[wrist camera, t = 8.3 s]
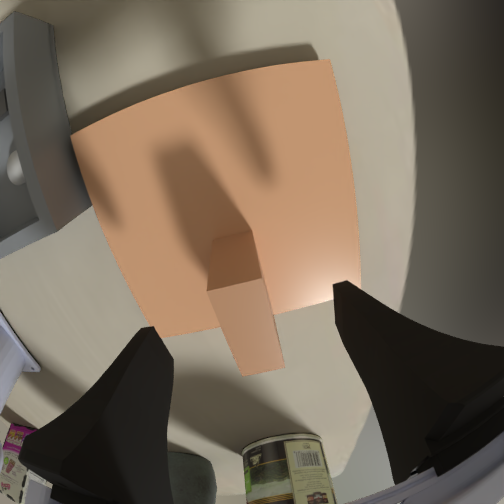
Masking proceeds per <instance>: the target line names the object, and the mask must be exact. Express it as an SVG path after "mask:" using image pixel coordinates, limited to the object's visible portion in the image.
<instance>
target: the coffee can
mask: <svg viewBox="0 0 504 504" xmlns="http://www.w3.org/2000/svg"><path fill="white" fill-rule="evenodd" d="M242 456H243V466H244V477H245V489H246V500H247V504H338V503H337V499H336V495H335V491H334V487H333V483H332V479H331V475H330V471H329V468H328V464H327V460H326V456H325V452H324V448H323V444H322V439H321V438H320V437H319V436H317V435H314V434H303V433H301V434H287V435H280V436H274V437H270V438H266V439H262V440H259V441H256V442H254V443H251V444H250V445H248V446H246V447H245V448H244V449H243V451H242Z"/></svg>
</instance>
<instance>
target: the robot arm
mask: <svg viewBox="0 0 504 504" xmlns="http://www.w3.org/2000/svg"><path fill="white" fill-rule="evenodd" d="M332 286H333V297H334V311H335V324H336V326H337V329H338V332H339V334H340V337H341V340H342V342H343V345H344V347H345V348H346V350H347V352H348V354H349V356H350V358H351V360H352V362H353V364H354V366H355V368H356V370H357V371H358V373H359V375H360V377H361V379H362V381H363V383H364V385H365V387H366V389H367V392H368V394H369V396H370V399H371V402H372V405H373V407H374V410H375V413H376V416H377V419H378V422H379V425H380V428H381V431H382V435H383V439H384V442H385V446H386V450H387V453H388V457H389V461H390V466H391V471H392V476H393V480H394V483H395V486H393V487H390V488H388V489H385V490H383V491H380V492H378V493H375V494H372V495H370V496H367V497H364V498H361V499H358V500H355V501H352V502H348V503H345V504H397V503H399V502H401V503H400V504H497V503H498V502H499V501H500V500H501V499H502V498H503V497H504V347H501V346H494V345H486V344H481V343H476V342H471V341H467V340H463V339H460V338H456V337H453V336H450V335H447V334H444V333H441V332H438V331H436V330H433V329H430V328H428V327H426V326H424V325H421V324H419V323H417V322H415V321H413V320H410V319H409V318H407V317H405V316H403V315H401V314H399V313H398V312H396V311H394V310H392V309H391V308H389V307H387V306H386V305H384V304H382V303H381V302H379V301H378V300H376V299H375V298H373V297H372V296H370V295H369V294H367V293H366V292H364V291H363V290H361V289H360V288H358V287H357V286H355V285H354V284H352V283H351V282H349V281H348V280H345V281H342V282H338V283H335V284H332ZM40 370H41V368H40V366H39V365H38V364H37V362H36V361H35V360H34V359H33V357H32V356H31V355H30V354H29V352H28V351H27V350H26V348H25V347H24V346H23V344H22V343H21V342H20V340H19V339H18V337H17V336H16V335H15V333H14V332H13V330H12V329H11V327H10V326H9V324H8V323H7V321H6V320H5V318H4V317H3V315H2V314H1V312H0V414H1V412H2V410H3V408H4V405H5V403H6V401H7V399H8V397H9V395H10V393H11V391H12V389H13V387H14V385H15V383H16V381H17V379H18V378H19V376H20V374H21V372H40ZM173 380H174V359H173V357H172V356H171V354H170V353H169V351H168V349H167V348H166V346H165V344H164V343H163V341H162V339H161V338H160V336H159V334H158V333H157V331H156V329H155V327H154V326H151V327H145V328H141V329H140V330H139V331H138V332H137V333H136V334H135V335H134V337H133V338H132V339H131V340H130V342H129V343H128V344H127V345H126V347H125V348H124V349H123V350H122V352H121V353H120V354H119V355H118V357H117V358H116V359H115V361H114V362H113V363H112V364H111V365H110V367H109V368H108V369H107V370H106V371H105V373H104V374H103V375H102V376H101V377H100V378H99V380H98V381H97V382H96V383H95V384H94V385H93V386H92V387H91V388H90V389H89V390H88V391H87V392H86V393H85V394H84V395H83V396H82V397H81V398H80V399H79V400H78V401H77V402H76V403H74V404H73V405H72V406H71V407H70V408H69V409H67V410H66V411H65V412H64V413H62V414H61V415H60V416H58V417H57V418H56V419H54V420H53V421H51V422H50V423H48V424H47V425H45V426H43V427H42V428H40V429H38V430H36V431H34V432H33V433H31V434H29V435H27V436H25V438H24V441H23V444H22V447H21V450H20V453H19V456H18V460H19V462H20V463H21V464H22V465H24V466H25V467H26V468H28V469H29V470H31V471H32V472H34V473H35V474H37V475H38V476H40V477H42V478H43V479H45V480H47V481H48V482H50V483H52V484H53V486H52V489H51V488H49V487H47V486H45V485H43V484H40V483H38V482H36V481H34V480H30V481H29V485H28V489H27V494H26V498H25V503H24V504H174V501H173V496H172V491H171V485H170V478H169V470H168V456H167V426H168V418H169V410H170V403H171V396H172V388H173ZM3 458H4V455H3V449H2V444H1V441H0V473H1V470H2V466H3Z"/></svg>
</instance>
